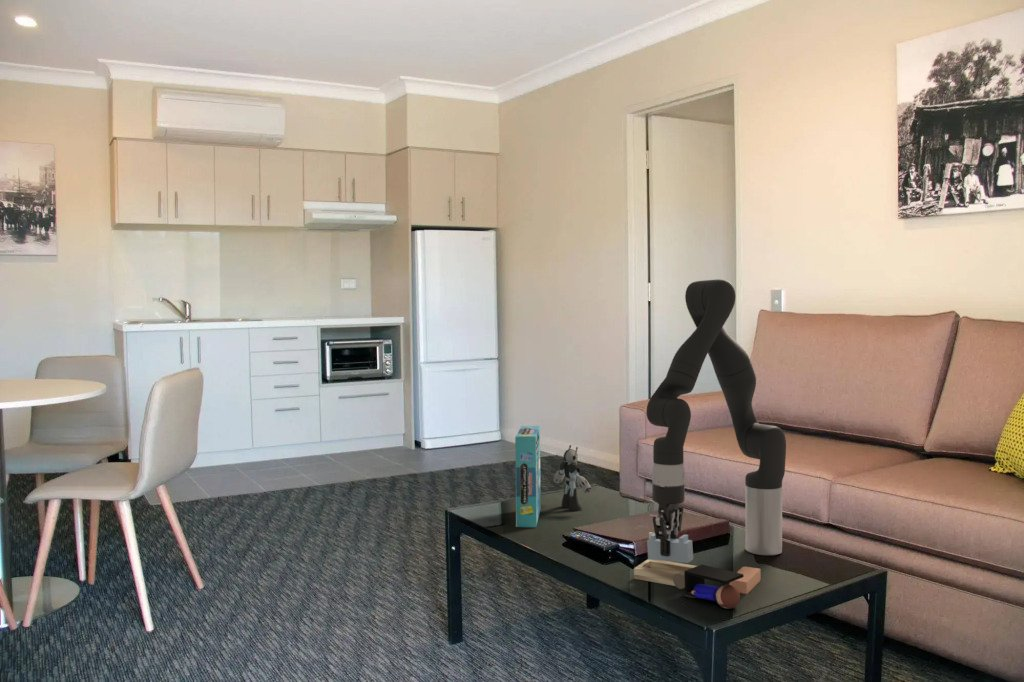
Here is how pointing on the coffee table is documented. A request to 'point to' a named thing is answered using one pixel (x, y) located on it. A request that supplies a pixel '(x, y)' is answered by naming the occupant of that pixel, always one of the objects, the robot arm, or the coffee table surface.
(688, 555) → the grey toy brick
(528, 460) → the game box
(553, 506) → the coffee table surface
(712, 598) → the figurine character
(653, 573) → the cradle
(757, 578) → the orange rectangular block
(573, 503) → the robot
